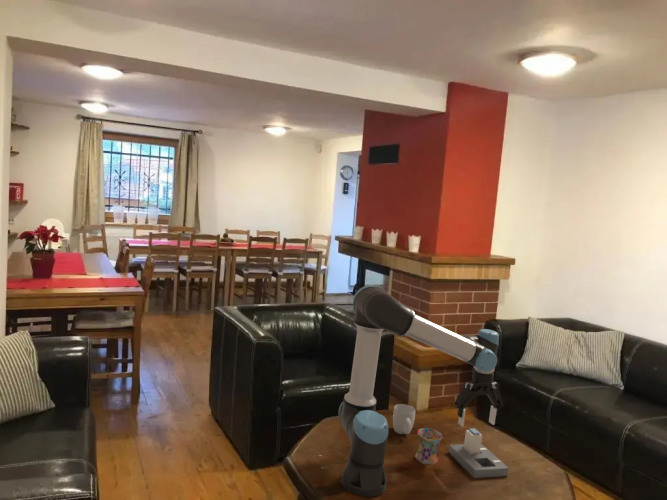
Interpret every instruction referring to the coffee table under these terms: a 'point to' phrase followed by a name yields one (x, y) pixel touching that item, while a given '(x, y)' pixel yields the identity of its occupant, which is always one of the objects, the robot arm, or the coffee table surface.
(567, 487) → the coffee table surface
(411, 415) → the mug
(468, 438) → the plug
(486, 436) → the coffee table surface
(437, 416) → the coffee table surface
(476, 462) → the panel
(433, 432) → the mug
